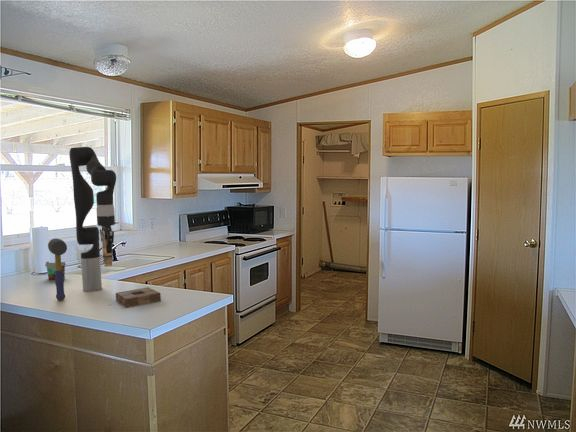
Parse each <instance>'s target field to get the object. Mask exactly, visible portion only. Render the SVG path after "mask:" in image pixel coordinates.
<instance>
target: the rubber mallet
mask: <svg viewBox="0 0 576 432" xmlns="http://www.w3.org/2000/svg"><path fill="white" fill-rule="evenodd" d="M47 248H48V250H49V251H50V252H49V253H52V254H53V255H54V263H55V265H56V272H55V280H54V282H55V287H56V289H55V290H56V295H55V298H56V300H57V301H60V302H61V301H64V300H65V298H66V294H65V285H64V284H65V278H64V276H63V271H62V267H61V262H62V258H61V257H62V256H63V255H64V254H65V253H66V252H67V251H68V250H67V249H68V246H67V243H66V242H65V241H64V240H63V239H60V238H52V239H50V240H49V241H48V243H47Z"/></svg>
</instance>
